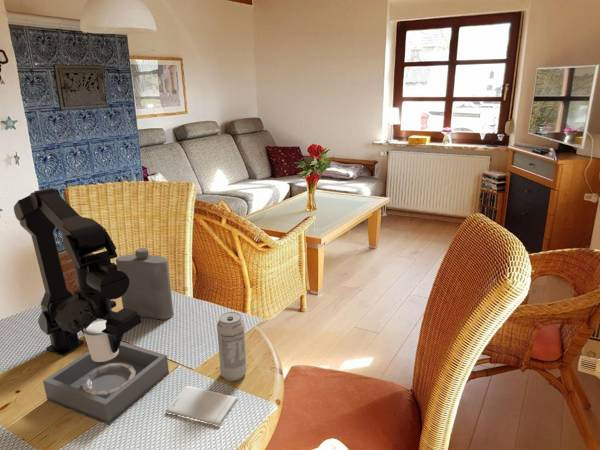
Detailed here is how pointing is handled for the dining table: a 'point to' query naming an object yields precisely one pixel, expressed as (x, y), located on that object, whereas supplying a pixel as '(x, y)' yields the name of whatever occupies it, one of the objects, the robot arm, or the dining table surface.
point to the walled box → (106, 383)
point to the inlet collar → (103, 370)
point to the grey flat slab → (202, 405)
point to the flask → (147, 284)
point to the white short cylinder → (98, 342)
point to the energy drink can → (231, 346)
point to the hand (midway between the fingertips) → (103, 348)
